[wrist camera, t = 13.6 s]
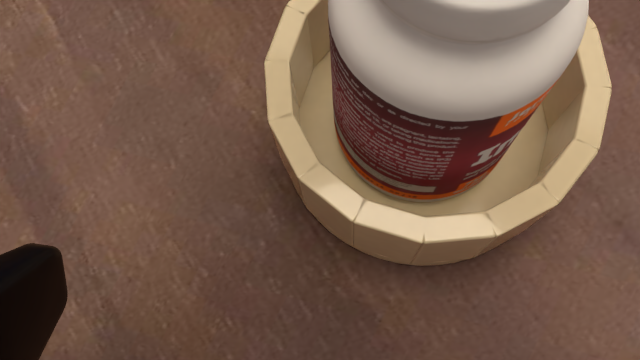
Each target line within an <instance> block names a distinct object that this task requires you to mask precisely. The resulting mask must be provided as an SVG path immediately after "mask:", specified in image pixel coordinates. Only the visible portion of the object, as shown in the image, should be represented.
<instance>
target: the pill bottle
mask: <svg viewBox="0 0 640 360" xmlns="http://www.w3.org/2000/svg"><path fill="white" fill-rule="evenodd" d="M588 5H589V0H328V24H329V38H330V57H331V76H332V98H333V111H334V124H335V130H336V135H337V139H338V143H339V146H340V148H341V151H342V153H343V155H344V157H345V158H346V160H347V162H348V163H349V165H350V166H351V167H352V169H353V170H354V171H355V172H356V173H357V174H358V175H359V176H360V177H361V178H362V179H363V180H364V181H365V182H367V183H368V184H369V185H371V186H372V187H373V188H375V189H377V190H379V191H380V192H382V193H384V194H387V195H389V196H392V197H394V198H398V199H402V200H406V201H413V202H435V201H441V200H446V199H449V198H452V197H455V196H458V195H460V194H462V193H464V192H467V191H468V190H470V189H471V188H473V187H475V186H476V185H478V184H479V183H480V182H481V181H482V180H483V179H485V178H486V177H487V175H488V174H489V173H490V172H491V171H492V170H493V169H494V168H495V167H496V165H497V164H498V162H499V161H500V160H501V158H502V157H503V155H504V154H505V152H506V151H507V150H508V148H509V147H510V145H511V144H512V142H513V141H514V140H515V138H516V137H517V136H518V134H519V133H520V131H521V130H522V129H523V127H524V126H525V125H526V123H527V122H528V120H529V119H530V117H531V116H532V115H533V113H534V112H535V111H536V109H537V108H538V106H539V105H540V104H541V102H542V101H543V100H544V98H545V97H546V96H547V94H548V93H549V91H550V90H551V89H552V87H553V86H554V85H555V83H556V82H557V81H558V79H559V78H560V77H561V75H562V74H563V73H564V71H565V70H566V68H567V66H568V65H569V63H570V62H571V60H572V59H573V57H574V55H575V53H576V51H577V49H578V48H579V45H580V43H581V40H582V38H583V35H584V32H585V27H586V22H587V17H588Z"/></svg>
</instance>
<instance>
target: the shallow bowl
mask: <svg viewBox="0 0 640 360" xmlns="http://www.w3.org/2000/svg"><path fill="white" fill-rule="evenodd" d="M596 28H597V27H596V25H595V24H594V22H593V21H592V20H591V18H590V17H589V16H588V17H587V22H586V27H585V32H584V35H583V38H582V40H581V43H580V45H579V48H578V49H577V51H576V53H575V55H574V57H573V59H572V60H571V62H570V63H569V65H568V66H567V68H566V70H565V71H564V73H563V74H562V75H561V77H560V78H559V79H558V81H557V82H556V83H555V85H554V86H553V87H552V89H551V90H550V91H549V93H548V94H547V96H546V97H545V98H544V100H543V101H542V102H541V104H540V105H539V106H538V108H537V109H536V111H535V112H534V113H533V115H532V116H531V117H530V119H529V120H528V122H527V123H526V125H525V126H524V127H523V129H522V130H521V131H520V133H519V134H518V136H517V137H516V138H515V140H514V141H513V142H512V144H511V145H510V147H509V148H508V150H507V151H506V152H505V154H504V155H503V157H502V158H501V160H500V161H499V162H498V164H497V165H496V167H495V168H494V169H493V170H492V171H491V172H490V173H489V174H488V175H487V177H486V178H485V179H483V180H482V181H481V182H480V183H479V184H478V185H476V186H475V187H473V188H471V189H470V190H468V191H467V192H464V193H462V194H460V195H458V196H455V197H452V198H449V199H446V200H441V201H435V202H413V201H406V200H402V199H398V198H394V197H392V196H389V195H387V194H384V193H382V192H380V191H379V190H377V189H375V188H373V187H372V186H371V185H369V184H368V183H367V182H365V181H364V180H363V179H362V178H361V177H360V176H359V175H358V174H357V173H356V172H355V171H354V170H353V169H352V167H351V166H350V165H349V163H348V162H347V160H346V158H345V157H344V155H343V153H342V151H341V148H340V146H339V143H338V139H337V135H336V130H335V124H334V111H333V98H332V76H331V57H330V38H329V24H328V0H290V1H289V2H288V3H287V5H286V7H285V9H284V11H283V14H282V16H281V19H280V21H279V24H278V27H277V29H276V32H275V35H274V37H273V40H272V43H271V45H270V48H269V50H268V53H267V56H266V58H265V62H264V68H265V84H266V101H267V117H268V122H269V126H270V129H271V132H272V135H273V137H274V140H275V143H276V146H277V149H278V152H279V155H280V157H281V160H282V163H283V164H284V166H285V168H286V170H287V172H288V174H289V176H290V178H291V180H292V183H293V185H294V187H295V189H296V191H297V193H298V195H299V196H300V198H301V199H302V201H303V203H304V204H305V206H306V208H308V210H309V211H310V212H311V213H312V214H313V216H314V217H315V218H316V219H317V220H318V221H319V222H320V223H321V224H322V225H323V226H324V227H325V228H326V229H327V230H328V231H330V232H331V233H332V234H333V235H335V236H336V237H338V238H339V239H340V240H342V241H343V242H345V243H346V244H348V245H350V246H352V247H354V248H356V249H357V250H359V251H361V252H363V253H366V254H369V255H371V256H374V257H376V258H379V259H382V260H387V261H391V262H395V263H399V264H408V265H418V266H425V265H443V264H449V263H456V262H460V261H463V260H467V259H471V258H475V257H477V256H479V255H481V254H483V253H486V252H488V251H490V250H492V249H494V248H496V247H497V246H499V245H501V244H502V243H504V242H505V241H507V240H509V239H510V238H512V237H514V236H516V235H518V234H520V233H522V232H523V231H525V230H526V229H527V228H529V227H530V226H531V225H533V224H534V223H535V222H536V221H538V220H539V219H540V218H542V217H543V216H544V215H545V214H547V213H548V212H549V211H551V210H552V209H553V208H554V207H556V206H557V205H558V204H559V203H560V202H561V201H562V200H563V198H564V197H565V196H566V194H567V193H568V192H569V190H570V189H571V188H572V186H573V185H574V184H575V183H576V181H577V180H578V179H579V177H580V176H581V175H582V173H583V172H584V171H585V169H586V168H587V167H588V166H589V164H590V163H591V162H592V160H593V159H594V158H595V156H596V155H597V153H598V150H599V149H600V146H601V141H602V136H603V131H604V126H605V121H606V116H607V112H608V107H609V102H610V97H611V92H612V91H611V87H612V85H611V81H610V77H609V73H608V69H607V65H606V61H605V57H604V53H603V49H602V45H601V41H600V37H599V32H598V29H596Z"/></svg>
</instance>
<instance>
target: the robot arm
mask: <svg viewBox="0 0 640 360" xmlns="http://www.w3.org/2000/svg"><path fill="white" fill-rule="evenodd" d="M66 302H67V285H66V279H65V272H64V266H63V259H62V255H61V252H60V251H59V249H58V248H56V247H54V246H48V245H42V244H35V243H30V244H26V245H23V246H21V247H18V248H16V249H14V250H11V251H9V252H6V253H4V254H1V255H0V360H39V358H40V356H41V354H42V352H43V350H44V348H45V346H46V344H47V342H48V340H49V338H50V336H51V334H52V332H53V330H54V328H55V326H56V324H57V322H58V320H59V318H60V316H61V314H62V312H63V310H64V308H65V305H66Z"/></svg>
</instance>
